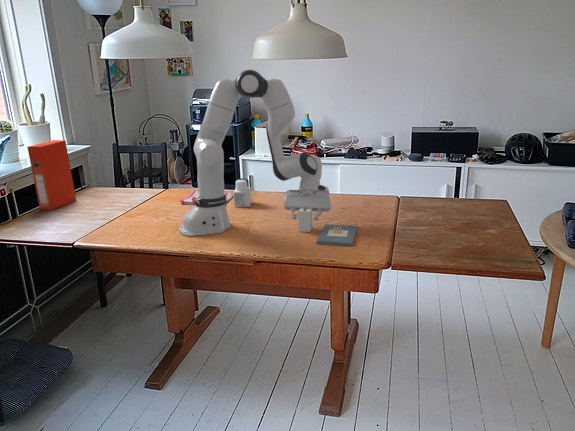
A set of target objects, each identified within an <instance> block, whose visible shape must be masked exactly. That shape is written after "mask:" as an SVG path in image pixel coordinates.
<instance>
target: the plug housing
mask: <svg viewBox="0 0 575 431" xmlns="http://www.w3.org/2000/svg"><path fill="white" fill-rule="evenodd" d="M297 215H298V216H297V217H298V218H297V220H298V224H297V225H298V232H300V233H301V232H302V233H311V232H312V230H313V211H312V209H310V208H300V209H299V210H297Z"/></svg>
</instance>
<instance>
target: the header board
mask: <svg viewBox="0 0 575 431" xmlns="http://www.w3.org/2000/svg"><path fill="white" fill-rule="evenodd" d="M357 231H358V225H350V224H348V225H347V224H330V223H329V224H328V223H325V224H324V225H323V227H322V230H321V231H320V234H319V236H318V238H317V239H316V245H324V246H325V245H329V246H343V247H344V246H346V247H348V246H349V247H353V244H354V241H355V238H356V235H357Z"/></svg>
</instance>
